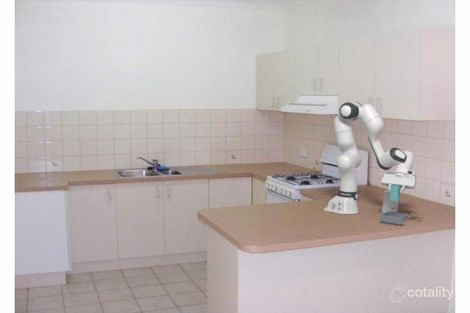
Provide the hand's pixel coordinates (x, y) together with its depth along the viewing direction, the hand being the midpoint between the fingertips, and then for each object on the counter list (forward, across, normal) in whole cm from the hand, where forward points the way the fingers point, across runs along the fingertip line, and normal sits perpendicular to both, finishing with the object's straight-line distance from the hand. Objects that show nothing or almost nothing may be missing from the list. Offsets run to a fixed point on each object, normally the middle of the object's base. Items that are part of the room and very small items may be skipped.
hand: (395, 192), depth 315 cm
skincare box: (-2, -10, +29) cm, 30 cm away
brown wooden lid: (+4, +7, +23) cm, 24 cm away
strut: (+3, 0, +4) cm, 5 cm away
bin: (+13, 0, +14) cm, 19 cm away
